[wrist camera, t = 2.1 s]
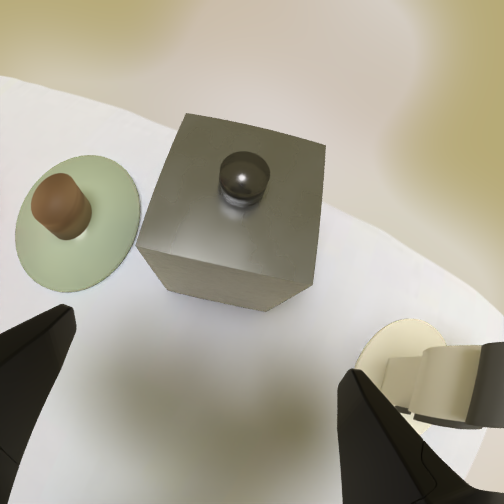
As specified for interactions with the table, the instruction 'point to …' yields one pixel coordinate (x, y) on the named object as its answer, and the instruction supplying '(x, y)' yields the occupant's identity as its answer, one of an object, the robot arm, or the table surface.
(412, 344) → the panda figurine
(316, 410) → the table surface
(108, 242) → the plate
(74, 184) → the wooden cylinder
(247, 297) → the cover
